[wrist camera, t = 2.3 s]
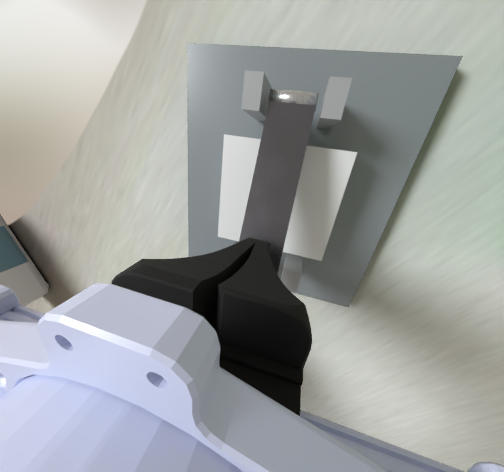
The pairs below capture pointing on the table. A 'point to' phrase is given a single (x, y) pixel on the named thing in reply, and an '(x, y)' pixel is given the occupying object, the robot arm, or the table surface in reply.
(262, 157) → the clamp bar
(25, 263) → the stereo radio cassette player
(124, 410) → the robot arm
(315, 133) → the board
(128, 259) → the table surface
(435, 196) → the table surface
